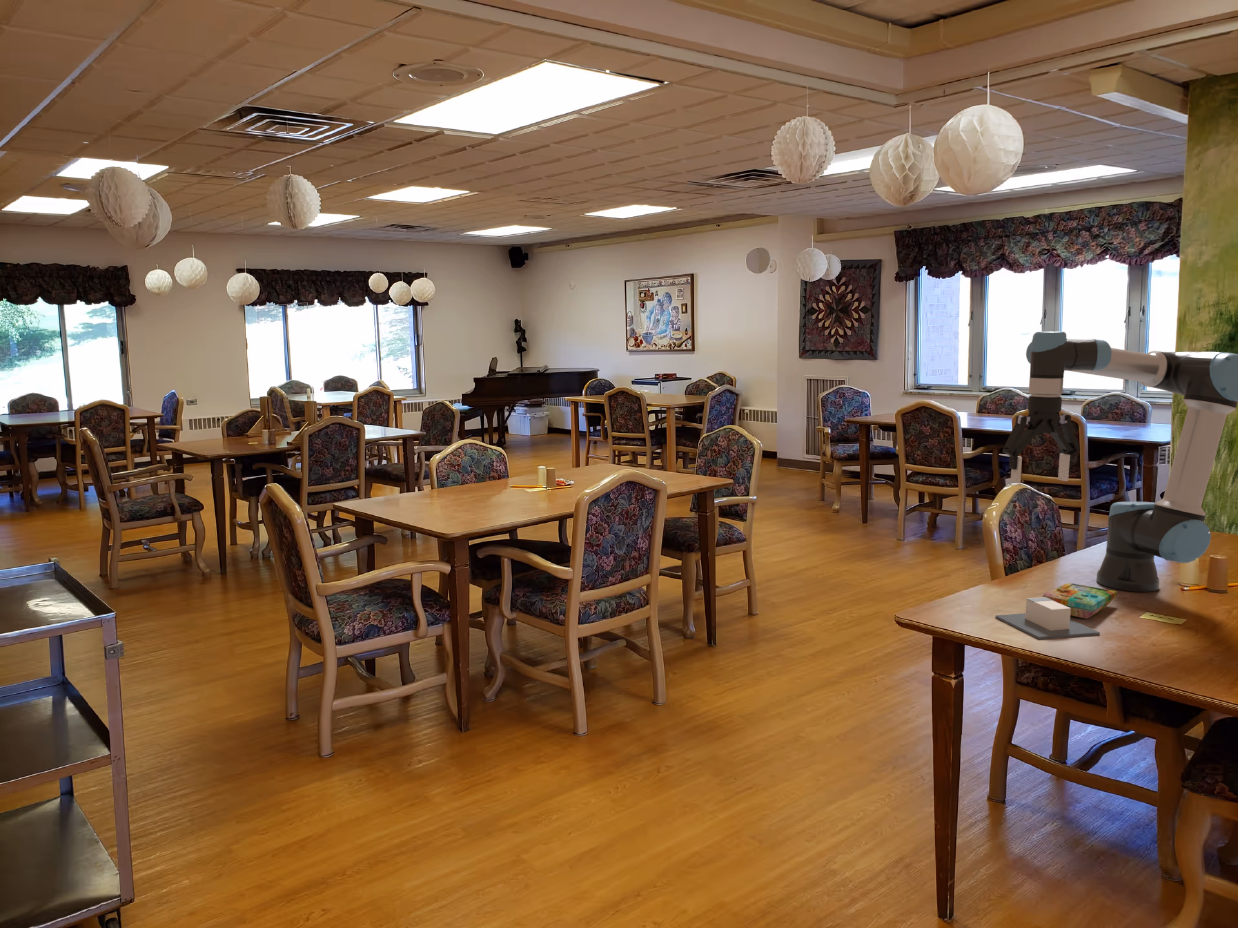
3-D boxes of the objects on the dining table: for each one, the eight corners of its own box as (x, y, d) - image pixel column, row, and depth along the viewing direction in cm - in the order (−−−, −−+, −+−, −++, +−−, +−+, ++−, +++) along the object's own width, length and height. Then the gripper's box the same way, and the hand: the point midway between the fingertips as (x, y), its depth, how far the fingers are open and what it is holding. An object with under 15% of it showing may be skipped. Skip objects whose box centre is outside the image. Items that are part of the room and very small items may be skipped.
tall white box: (1069, 628, 217) (1071, 607, 216) (1050, 630, 216) (1052, 609, 215) (1043, 617, 225) (1044, 596, 225) (1024, 618, 224) (1026, 598, 223)
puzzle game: (1042, 591, 230) (1068, 579, 245) (1041, 610, 230) (1066, 596, 245) (1094, 601, 222) (1117, 588, 237) (1092, 620, 223) (1115, 606, 238)
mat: (1052, 613, 230) (1053, 611, 230) (1099, 634, 215) (1099, 632, 215) (995, 617, 227) (995, 615, 227) (1038, 639, 211) (1038, 636, 211)
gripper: (1078, 393, 234) (1071, 476, 237) (990, 395, 228) (985, 480, 232) (1100, 395, 227) (1093, 481, 230) (1010, 397, 221) (1004, 486, 224)
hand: (1039, 481), depth 231 cm, fingers open, 13 cm apart
